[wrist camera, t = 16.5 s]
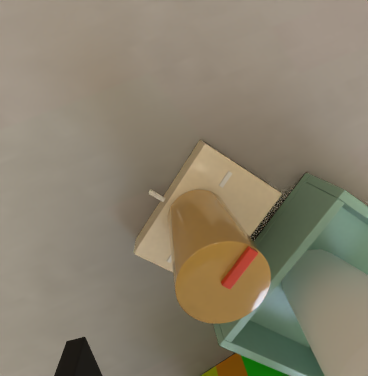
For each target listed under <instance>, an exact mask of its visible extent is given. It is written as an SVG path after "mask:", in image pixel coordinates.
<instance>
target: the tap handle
mask: <svg viewBox="0 0 368 376" xmlns="http://www.w3.org/2000/svg"><path fill="white" fill-rule="evenodd" d="M167 226H168V234H169V243H170V251H171V260H172V268H173V277H174V285H175V293H176V297H177V300H178V302H179V304H180V306H181V307H182V308H183V310H184V311H185V312H186V313H187V314H188V315H190V316H191V317H193V318H195V319H197V320H199V321H202V322H206V323H212V324H222V323H228V322H233V321H236V320H238V319H241V318H243V317H245V316H247V315H248V314H250V313H251V312H252V311H254V310H255V309H256V308H257V307H258V306H259V305H260V304H261V303H262V301H263V300H264V298H265V297H266V295H267V293H268V290H269V287H270V282H271V271H270V267H269V264H268V262H267V260H266V258H265V257H264V255H263V254H262V253H261V251H260V250H259V248H258V247H257V246H256V244H255V243H254V242H253V240H252V239H251V238H250V236H249V235H248V233H247V232H246V231H245V229H244V228H243V227H242V225H241V224H240V222H239V221H238V220H237V218H236V217H235V216H234V214H233V213H232V212H231V210H230V209H229V207H228V206H227V205H226V203H225V202H224V201H223V199H222V198H221V197H220V196H218V195H217V194H215V193H213V192H211V191H208V190H201V189H199V190H192V191H188V192H186V193H184V194H182V195H181V196H179V197H178V198H177V199H176V200H175V201H174V202H173V204H172V205H171V207H170V209H169V211H168V215H167Z"/></svg>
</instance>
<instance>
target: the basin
mask: <svg viewBox="0 0 368 376" xmlns="http://www.w3.org/2000/svg"><path fill="white" fill-rule="evenodd" d="M254 243H255V244H256V246H257V247H258V248H259V250H260V251H261V253H262V254H263V255H264V257H265V258H266V260H267V262H268V264H269V267H270V271H271V282H270V287H269V290H268V293H267V295H266V297H265V298H264V300H263V301H262V303H261V304H260V305H259V306H258V307H257V308H256V309H255V310H254V311H252V312H251V313H250V314H248V315H247V316H245V317H243V318H241V319H238V320H236V321H233V322H228V323H222V324H213V325H214V329H215V333H216V336H217V340H218V344H219V346H221V347H223V348H226V349H228V350H230V351H233V352H235V353H237V354H240V355H242V356H244V357H247V358H249V359H252V360H254V361H256V362H259V363H261V364H263V365H266V366H268V367H271V368H273V369H275V370H278V371H280V372H282V373H285V374H287V375H290V376H324V374H323V372H322V370H321V368H320V366H319V364H318V361H317V359H316V357H315V355H314V353H313V351H312V349H311V347H310V345H309V343H308V341H307V339H306V337H305V335H304V333H303V331H302V329H301V327H300V324H299V322H298V320H297V318H296V316H295V314H294V312H293V310H292V308H291V306H290V304H289V302H288V300H287V298H286V296H285V292H284V291H283V288H282V280H283V278H284V277H285V276H286V275H287V273H288V272H289V271H290V270H291V269H292V267H293V266H294V265H295V264H296V262H297V261H298V260H299V259H300V258H301V256H302V255H303V254H304V253H305V251H307V250H317V249H322V250H324V251H327V252H329V253H332V254H333V255H335V256H337V257H339V258H340V259H342V260H344V261H345V262H347V263H349V264H350V265H352V266H354V267H355V268H357V269H359V270H360V271H362V272H364V273H365V274H367V275H368V206H367V205H365V204H364V203H362V202H361V201H360V200H358V199H357V198H355V197H354V196H353V195H351V194H350V193H349V192H347V191H346V190H344V189H342V188H339V187H337V186H335V185H333V184H330V183H328V182H326V181H324V180H321V179H319V178H317V177H315V176H313V175H310V174H308V173H305V175H304V176H303V177H302V179H301V180H300V181H299V183H298V184H297V185H296V187H295V188H294V189H293V191H292V192H291V193H290V194H289V196H288V197H287V198H286V200H285V201H284V202H283V204H282V205H281V206H280V208H279V209H278V210H277V212H276V213H275V214H274V215H273V217H272V218H271V219H270V221H269V222H268V223H267V225H266V226H265V227H264V229H263V230H262V231H261V233H260V234H259V235H258V237H257V238H256V239H255V240H254Z"/></svg>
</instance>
